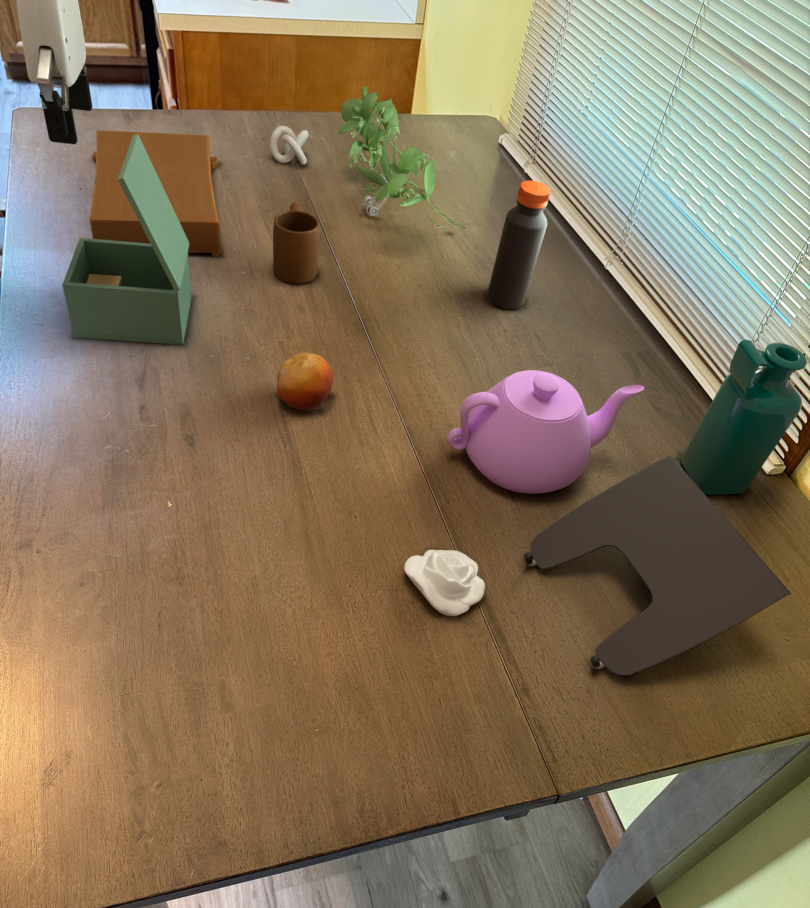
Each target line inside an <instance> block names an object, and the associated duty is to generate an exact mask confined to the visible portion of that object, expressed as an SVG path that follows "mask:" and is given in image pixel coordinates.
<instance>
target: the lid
mask: <svg viewBox="0 0 810 908" xmlns="http://www.w3.org/2000/svg"><path fill="white" fill-rule="evenodd" d="M118 181H119V183H120V185H121V187H122V189H123V191H124V193H125V195H126V197H127V199H128V201H129V203H130V205H131V206H132V208H133V210H134V212H135V214H136V216H137V218H138V220H139V222H140V224H141V226H142V228H143V230H144V232H145V234H146V236H147V238H148V240H149V241H150V243H151V245H152V247H153V249H154V251H155V253H156V255H157V257H158V259H159V261H160V263H161V265H162V267H163V269H164V271H165V273H166V275H167V277H168V278H169V280H170V282H171V284H172V286H173V288H174V290H175V291H178V290H180V288H181V283H182V278H183V273H184V268H185V263H186V258H187V253H188V254H189V252H188V248H189V241H188V239H187V237H186V235H185V233H184V231H183V228H182V226H181V224H180V222H179V220H178V218H177V216H176V214H175V211H174V209H173V207H172V205H171V203H170V201H169V199H168V197H167V194H166V192H165V190H164V188H163V186H162V184H161V182H160V180H159V177H158V175H157V173H156V171H155V169H154V167H153V165H152V163H151V160H150V158H149V156H148V154H147V152H146V150H145V148H144V146H143V143H142V141H141V139H140V137H139V135H138V134H137V135H133V137H132V139H131V142H130V145H129V148H128V151H127V154H126V157H125V159H124V162H123V165H122V168H121V171H120V174H119V177H118Z"/></svg>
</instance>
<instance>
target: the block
mask: <svg viewBox="0 0 810 908" xmlns="http://www.w3.org/2000/svg"><path fill="white" fill-rule="evenodd" d="M86 284H99V285H112V286H123V284H122V277H121V276H111V275H98V274H89V277H88V280H87V283H86Z"/></svg>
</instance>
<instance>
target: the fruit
mask: <svg viewBox="0 0 810 908" xmlns="http://www.w3.org/2000/svg"><path fill="white" fill-rule="evenodd" d="M276 379H277V382H276V383H277V384H276V390H277V394H278V396H279V398H280V399H281V400H282V401H283V402H284V403H286V405H288V406H290V407H291V408H293V409H297V410H300V411H310V410H318V411H321V406H322V405H323V404H324V402H325V401H326V400H327V398H328V397H331V391H332V389H333V385H334V374H333V371H332V368H331V365H330V364H329V362H328V361H327V360H326V359H325V358H324V357H323V356H320V354H319V355H318V354H316V353H313V352H300V353H298V354H294V355H293V356H291V357H289V358H288V359H286V360H285V361H284V362H283V363H282V365H280V367H279V370H278V372H277V378H276Z"/></svg>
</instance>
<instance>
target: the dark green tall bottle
mask: <svg viewBox="0 0 810 908" xmlns="http://www.w3.org/2000/svg"><path fill="white" fill-rule="evenodd" d="M737 344H738V345H737V347H736V349H735V352H734V353H733V357H732V359H731V362H730V364H729V373H728V374H726V376H725V378H724V380H723V382H722V384H721V385H720V387H719V388H718V390H717V392H716V393H715V396H714V398H713V399H712V401H711V402H710V404H709V406H708V409H707V410H706V411H705V414H703V415H704V416H703V417H702V419H701V421H700V422H699V424H698V426H697V427H696V429H695V431H694V433H693V434H692V436H691V438H690V441H689V442H688V443H687V446H686V447H685V449H684V450H683V452H682V455H681V456H680V463H681V466H683V467H682V468H683V470H684V471H685V472H686V473H687V474H688V476H689V477H690V478H691V479H692V480H693V481H694V482H695V484H696V485H697V486H698V487H699V488H700V489H701V490H702V492H703V493H704V494H705V495H709V496H710V495H711V496H712V495H713V496H714V495H739V494H742V493H744V492H746V491H747V489H748V488H749V487H750V485H751V484H752V482H753V480H754V479H755V478H756V476H757V475H758V474H759V472H760V470H761V469H762V468H763V466H764V465H765V463H766V462H767V460H768V458H769V457H770V456H771V455H772V453H773V451H775V448H776V447H777V446H778V444H779V442H780V441H781V440H782V438H783V437H784V435H785V434H786V432H787V431H788V429H789V428H790V427H791V425H792V424H793V422H794V421H795V419H796V418H797V416H798V415H799V413H800V412H801V410H802V407H803V400H802V396H801V395H800V393H799V392H798V391H797V390H796V389H795V387H794V385H793V384H792V383H791V381H790V380H789V379H790V378H791V377H792V375H793V373H794V371H801V370H804V369H805V368H806V366H807V365H808V361H807V360H808V359H807V357H806V356H805V354H804V353H803V352H802V351H801V350H799V349H798V348H796V347H794V346H792V345H790V344H786V343H783V342H772V343H769V344H766V346H765V348H764V350H760V349H759V348H757V346H756V345H755V344H754V343H753V341H751V340H749V339H743V340H740V341H739V343H737Z"/></svg>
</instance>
